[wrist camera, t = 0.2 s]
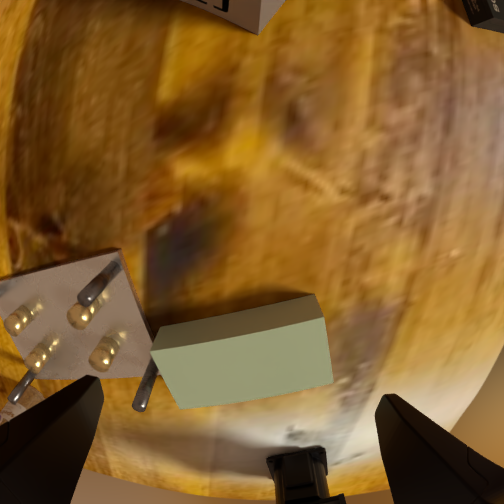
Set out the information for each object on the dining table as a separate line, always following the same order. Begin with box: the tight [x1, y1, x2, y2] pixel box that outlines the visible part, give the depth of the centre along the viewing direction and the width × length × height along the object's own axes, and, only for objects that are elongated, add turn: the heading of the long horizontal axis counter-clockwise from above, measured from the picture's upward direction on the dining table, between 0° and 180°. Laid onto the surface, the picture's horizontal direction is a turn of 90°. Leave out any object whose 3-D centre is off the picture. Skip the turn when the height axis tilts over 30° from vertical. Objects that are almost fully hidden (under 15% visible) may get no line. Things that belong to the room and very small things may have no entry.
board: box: [150, 294, 334, 409], centre depth 23 cm, size 12×6×4 cm, turn 104°
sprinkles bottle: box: [0, 385, 45, 425], centre depth 21 cm, size 5×5×13 cm
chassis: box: [0, 249, 161, 412], centre depth 21 cm, size 16×11×6 cm
